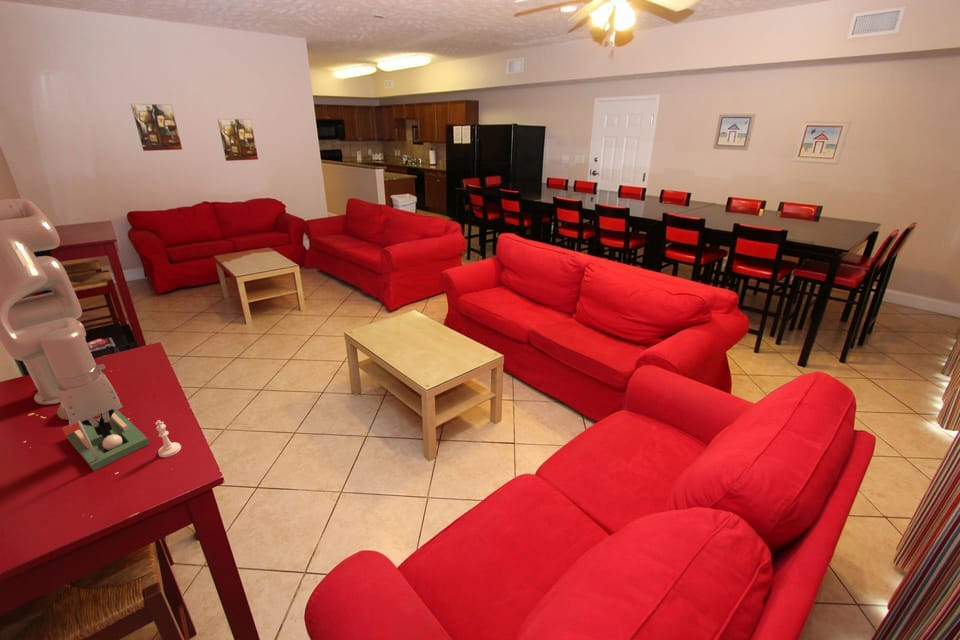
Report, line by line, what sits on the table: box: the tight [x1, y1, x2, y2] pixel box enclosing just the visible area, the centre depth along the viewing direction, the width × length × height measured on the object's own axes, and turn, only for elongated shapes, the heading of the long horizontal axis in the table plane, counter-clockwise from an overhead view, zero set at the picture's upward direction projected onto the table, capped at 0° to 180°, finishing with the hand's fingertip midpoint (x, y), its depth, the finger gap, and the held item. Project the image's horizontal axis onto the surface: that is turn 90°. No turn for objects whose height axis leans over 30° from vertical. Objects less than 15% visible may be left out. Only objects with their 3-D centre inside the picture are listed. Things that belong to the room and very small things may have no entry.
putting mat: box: [61, 409, 150, 472], centre depth 110 cm, size 20×14×14 cm
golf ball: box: [102, 435, 123, 450], centre depth 111 cm, size 4×4×4 cm
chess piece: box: [154, 419, 182, 458], centre depth 109 cm, size 5×5×10 cm
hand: (105, 434), depth 112 cm, fingers closed
